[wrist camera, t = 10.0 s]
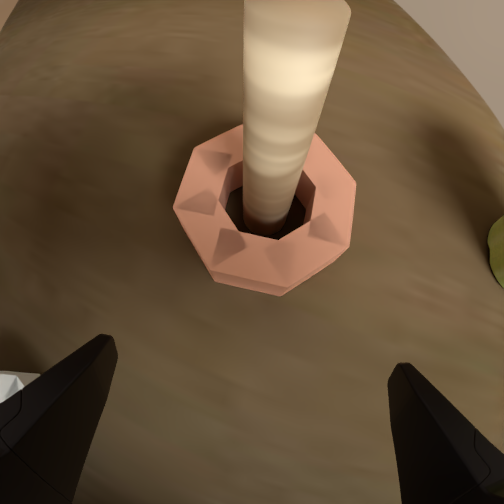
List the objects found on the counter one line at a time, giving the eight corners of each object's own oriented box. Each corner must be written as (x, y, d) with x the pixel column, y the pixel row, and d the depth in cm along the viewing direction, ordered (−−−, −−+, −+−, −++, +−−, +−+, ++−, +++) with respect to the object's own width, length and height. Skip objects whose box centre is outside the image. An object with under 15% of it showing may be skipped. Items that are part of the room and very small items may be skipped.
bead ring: (325, 306, 18) (341, 299, 15) (170, 270, 18) (157, 257, 15) (345, 169, 20) (358, 145, 17) (212, 140, 21) (208, 112, 18)
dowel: (269, 243, 19) (322, 39, 5) (234, 219, 19) (221, 3, 6) (294, 211, 19) (366, 6, 6) (259, 188, 20) (281, -26, 6)
